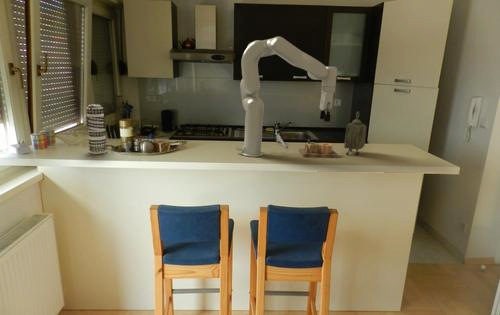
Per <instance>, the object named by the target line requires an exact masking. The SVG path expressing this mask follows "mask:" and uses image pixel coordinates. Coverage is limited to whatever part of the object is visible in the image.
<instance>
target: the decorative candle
mask: <svg viewBox="0 0 500 315" xmlns="http://www.w3.org/2000/svg"><path fill="white" fill-rule="evenodd" d="M103 109H104V107H103V106H102V105H101V104H88V105H87V107H86V116H85V119H86V121H85V122H86V126H87V127H86V128H87V131H88V144H89V145H88V148H89V149H88V150H89V154H92V155H99V154H100V155H101V154H105V153H107V152H108V149H107V138H106V134H105V131H106V124H105V122H106V120H105V119H106V117H105V116H104V110H103Z"/></svg>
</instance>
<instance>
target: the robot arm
mask: <svg viewBox="0 0 500 315" xmlns="http://www.w3.org/2000/svg"><path fill="white" fill-rule="evenodd" d="M273 55H277V56H279V58H282V59H283V60H284V61H286V62H287V63H288V64H290V65H292V66H293V67H296V68H298V69H299V68H300V69H303V70H304V71H306V72H307V75H308V77H309V78H310V79H311V80H315V81H317V80H318V81H321V86H320V87H321V88H320V89H321V90H320V93H321V94H320V95H321V96H320V100H319V110H320V114H319V119H320V120H323V122H328V123H330V122H331V115H332V109H333V103H334V102H333V99H334V93H336V83H337V75H338V68H337V67H336V66H327V65H325V64H323V62H321V61H319V60H317V59H316V58H314V57H313V56H311V55H309V54H308V53H306V52H304V51H302V50H301V49H299V48H298V47H296V46H295V45H294V44H292V43H290V42H289V41H288V40H287V39H285V38H284V37H282V36H275V37H273V38H269V39H264V40H263V39H262V40H259V39H258V40H256V39H255V40H254V41H252V42H250V43H248V45H247V47H246V49H245V50H244V52H243V53H242V57H241V61H240V62H241V64H240V65H241V76H242V79H241V81H240V83H239V84H240V86H239V88H240V95H241V96H240V97H241V102H242V107H243V109H244V110H245V119H244V143H243V145H242V146H235V150H236V151H240V152H241V153H240V154H241V155H242V156H244V157H250V158H254V157H255V158H256V157H257V158H259V157H263V156H265V152H264V151H263V150H262V141H263V138H262V137H263V119H264V111H265V105H264V104H265V103H264V102H263V100H262V98H260V97H259V91H260V88H261V83H260V76H259V66H258V64H259V61H260V58H264V57H269V56H273Z"/></svg>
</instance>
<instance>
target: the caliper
mask: <svg viewBox="0 0 500 315" xmlns="http://www.w3.org/2000/svg"><path fill="white" fill-rule="evenodd" d="M280 134H281V133H280V132H278V133H277V135H276V142H277V143H280V144H281V145H282V147H283V148H284V149H287V148H288V147H287V145H286V143H285V142H284V140H283V139H282V137H281V135H280Z"/></svg>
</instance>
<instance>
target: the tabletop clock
mask: <svg viewBox="0 0 500 315" xmlns="http://www.w3.org/2000/svg"><path fill="white" fill-rule="evenodd" d="M359 117H360V111H356V114H355V119H354V120H352V122H349V123H348V124H347V125H346V127H345V136H344V144H343V145H344V148H345V149H348V151H346V152H345V156H348V155H349V154H350V153H349V152H353V150H356V152H355V154H356V155H359V154H360V153H359V151H358V150H361V149H363V148H364V147H365V144H366V136H367V130H368V129H367V128H368V126H367V125H366V124H364V123H362V121H361V120H360V119H359Z"/></svg>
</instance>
